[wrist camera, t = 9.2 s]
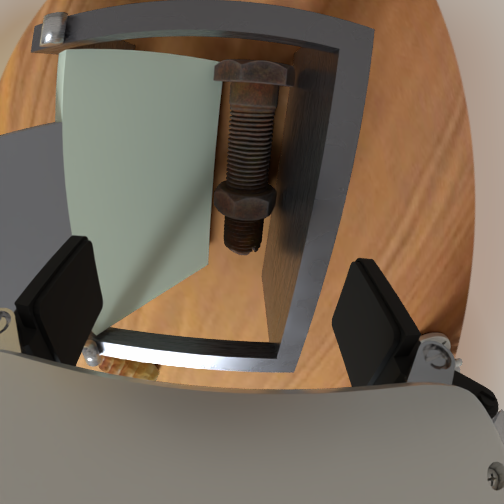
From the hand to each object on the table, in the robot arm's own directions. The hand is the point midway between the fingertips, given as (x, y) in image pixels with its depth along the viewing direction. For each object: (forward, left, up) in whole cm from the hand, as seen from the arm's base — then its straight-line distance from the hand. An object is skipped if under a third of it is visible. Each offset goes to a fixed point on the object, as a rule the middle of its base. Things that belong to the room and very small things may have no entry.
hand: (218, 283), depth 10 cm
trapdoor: (+12, 0, -9) cm, 15 cm away
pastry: (+12, +27, -17) cm, 34 cm away
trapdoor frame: (+3, 0, -16) cm, 16 cm away
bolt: (+1, -1, -12) cm, 12 cm away
